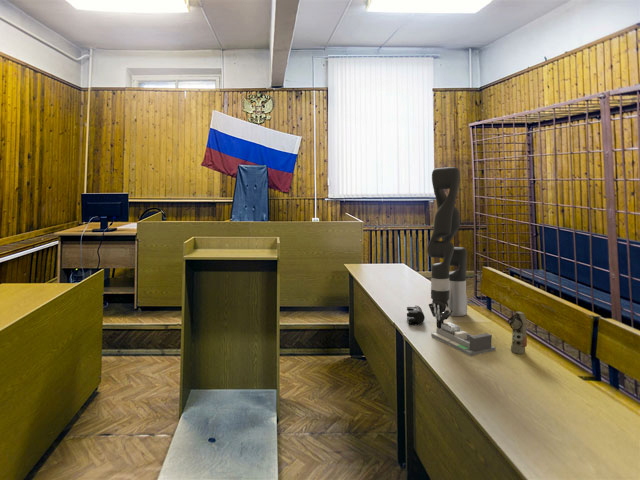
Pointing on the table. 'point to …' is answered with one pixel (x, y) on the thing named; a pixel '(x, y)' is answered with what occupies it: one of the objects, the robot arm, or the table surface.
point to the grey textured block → (450, 328)
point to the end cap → (415, 315)
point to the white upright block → (461, 335)
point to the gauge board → (466, 342)
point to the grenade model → (518, 332)
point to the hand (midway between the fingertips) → (439, 328)
